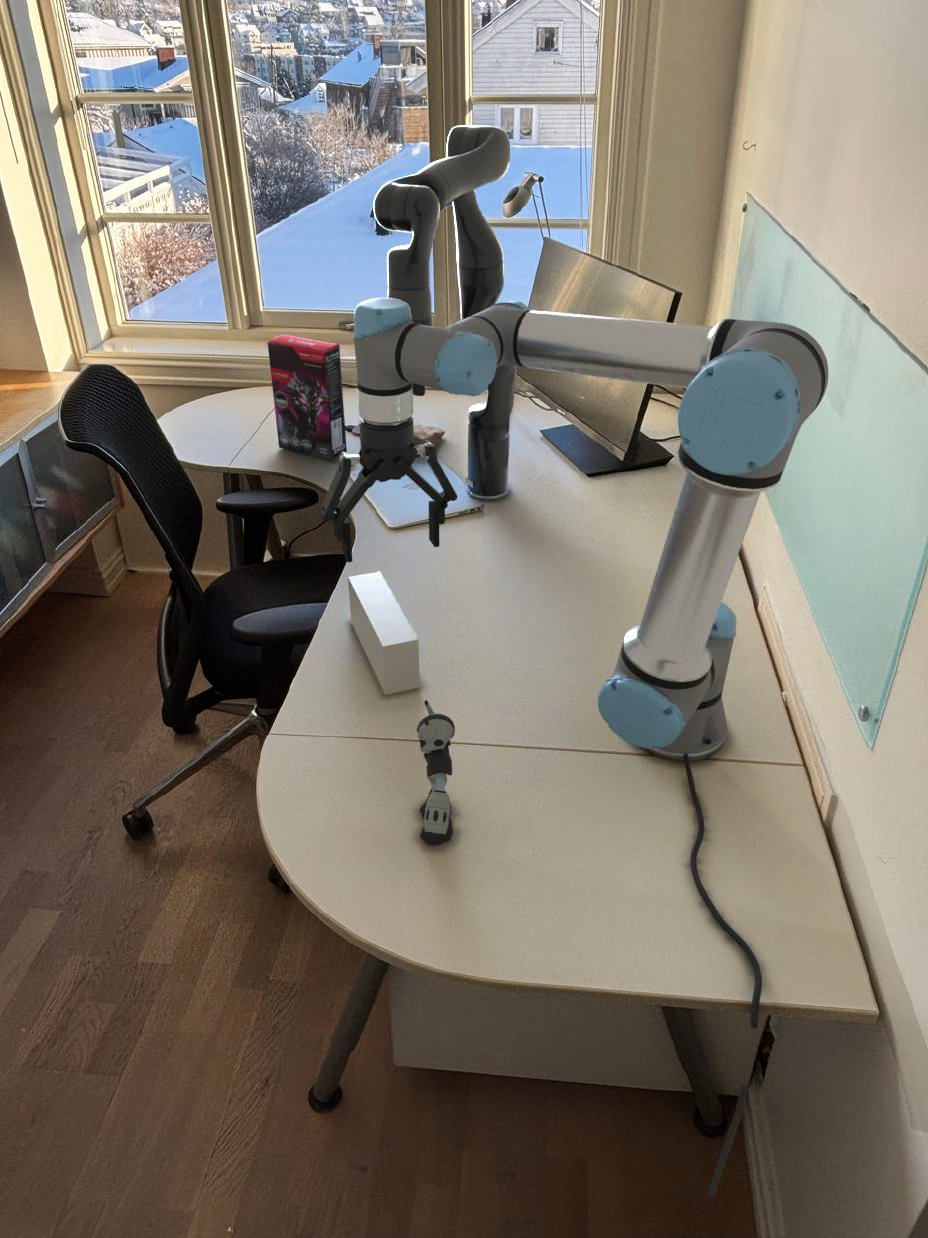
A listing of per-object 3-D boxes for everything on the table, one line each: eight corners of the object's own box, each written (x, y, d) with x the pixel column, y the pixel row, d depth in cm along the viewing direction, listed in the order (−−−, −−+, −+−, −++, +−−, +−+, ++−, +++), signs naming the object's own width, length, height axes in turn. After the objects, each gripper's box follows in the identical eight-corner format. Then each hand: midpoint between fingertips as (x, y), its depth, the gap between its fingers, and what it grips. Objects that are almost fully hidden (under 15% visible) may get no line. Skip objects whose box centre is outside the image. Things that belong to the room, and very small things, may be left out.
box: (419, 687, 152) (418, 639, 146) (385, 695, 150) (382, 646, 144) (382, 616, 169) (380, 571, 163) (351, 622, 167) (347, 576, 162)
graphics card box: (276, 448, 231) (264, 340, 216) (293, 439, 236) (282, 332, 221) (333, 462, 225) (324, 351, 209) (349, 452, 230) (341, 343, 214)
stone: (346, 435, 230) (351, 411, 228) (368, 426, 244) (372, 404, 241) (425, 459, 227) (430, 436, 224) (442, 449, 240) (447, 427, 238)
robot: (457, 879, 118) (458, 763, 107) (419, 880, 118) (416, 764, 107) (451, 772, 135) (451, 662, 123) (418, 773, 134) (415, 663, 123)
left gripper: (402, 299, 164) (404, 388, 173) (374, 321, 153) (378, 415, 162) (442, 303, 162) (442, 392, 171) (417, 325, 151) (419, 419, 160)
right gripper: (461, 396, 134) (460, 526, 146) (291, 418, 127) (304, 552, 139) (480, 414, 128) (477, 548, 140) (302, 438, 121) (316, 576, 133)
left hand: (411, 403), depth 167 cm, fingers open, 8 cm apart
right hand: (391, 550), depth 139 cm, fingers open, 13 cm apart
